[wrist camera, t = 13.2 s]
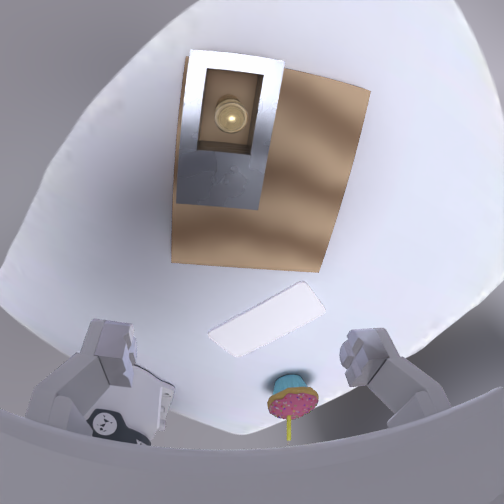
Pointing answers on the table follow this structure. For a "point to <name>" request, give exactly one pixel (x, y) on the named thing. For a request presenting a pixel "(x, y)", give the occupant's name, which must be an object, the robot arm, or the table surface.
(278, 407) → the cupcake
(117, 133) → the table surface
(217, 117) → the post
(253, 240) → the oak board
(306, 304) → the smartphone
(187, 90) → the steel link
